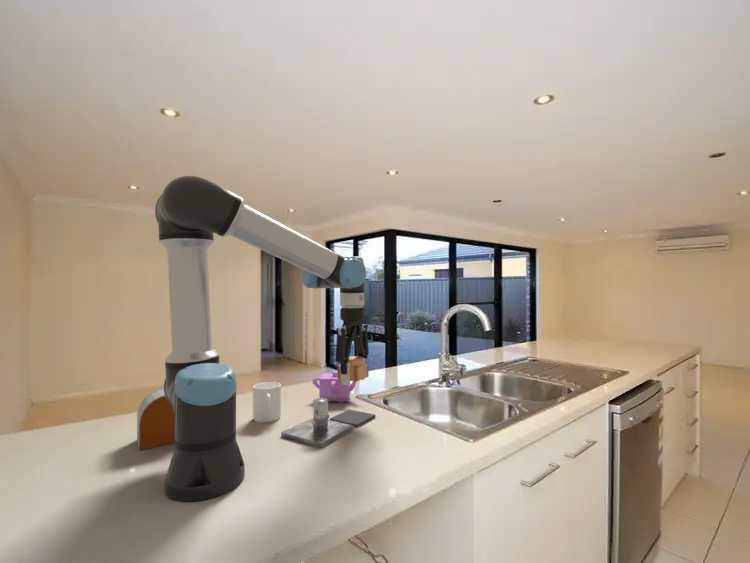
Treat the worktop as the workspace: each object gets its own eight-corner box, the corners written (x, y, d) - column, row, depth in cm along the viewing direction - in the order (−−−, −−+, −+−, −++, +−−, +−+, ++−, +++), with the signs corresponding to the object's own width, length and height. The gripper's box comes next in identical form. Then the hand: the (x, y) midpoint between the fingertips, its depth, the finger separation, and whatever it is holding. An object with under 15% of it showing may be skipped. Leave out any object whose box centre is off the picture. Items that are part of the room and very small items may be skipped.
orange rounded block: (197, 427, 108) (197, 380, 109) (203, 436, 101) (203, 386, 102) (136, 439, 100) (137, 388, 100) (139, 450, 93) (139, 396, 93)
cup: (279, 412, 121) (279, 381, 121) (283, 425, 110) (283, 390, 110) (252, 415, 118) (252, 383, 118) (253, 429, 107) (253, 393, 107)
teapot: (363, 394, 140) (363, 367, 141) (361, 406, 127) (361, 376, 127) (315, 395, 141) (315, 368, 141) (308, 406, 127) (308, 376, 127)
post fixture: (321, 447, 94) (321, 411, 94) (281, 436, 101) (281, 402, 101) (353, 429, 106) (353, 397, 106) (315, 420, 113) (315, 390, 113)
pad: (357, 427, 107) (357, 424, 107) (329, 421, 113) (329, 418, 113) (375, 417, 116) (375, 414, 116) (349, 411, 121) (349, 409, 121)
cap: (337, 379, 113) (336, 359, 113) (350, 374, 119) (350, 355, 119) (356, 381, 110) (356, 361, 110) (369, 376, 116) (368, 357, 116)
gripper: (342, 309, 104) (343, 391, 104) (379, 305, 121) (380, 376, 121) (322, 308, 108) (322, 387, 108) (360, 305, 125) (361, 373, 125)
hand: (353, 381), depth 114 cm, fingers closed on cap, 7 cm apart
